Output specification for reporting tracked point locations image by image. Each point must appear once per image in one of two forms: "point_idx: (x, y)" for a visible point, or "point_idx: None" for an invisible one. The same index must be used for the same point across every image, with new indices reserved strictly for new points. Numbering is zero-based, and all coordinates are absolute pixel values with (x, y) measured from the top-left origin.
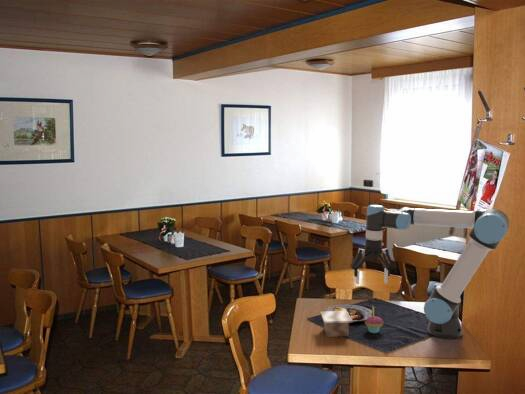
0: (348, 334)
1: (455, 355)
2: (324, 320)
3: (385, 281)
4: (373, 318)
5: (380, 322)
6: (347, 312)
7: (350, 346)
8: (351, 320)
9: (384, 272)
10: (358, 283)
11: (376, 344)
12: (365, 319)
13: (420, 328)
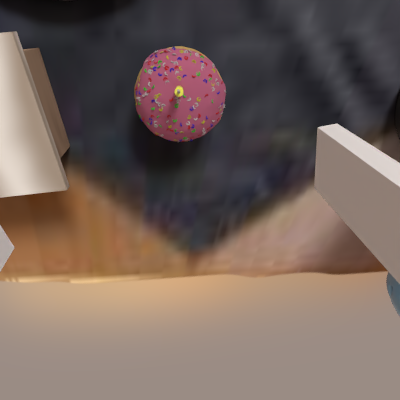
0: (66, 149)
1: (376, 258)
2: None
3: (325, 184)
4: (174, 122)
5: (206, 132)
6: (19, 67)
7: (84, 227)
8: (60, 188)
9: (397, 191)
10: (6, 252)
11: (173, 208)
12: (135, 89)
13: (392, 47)
